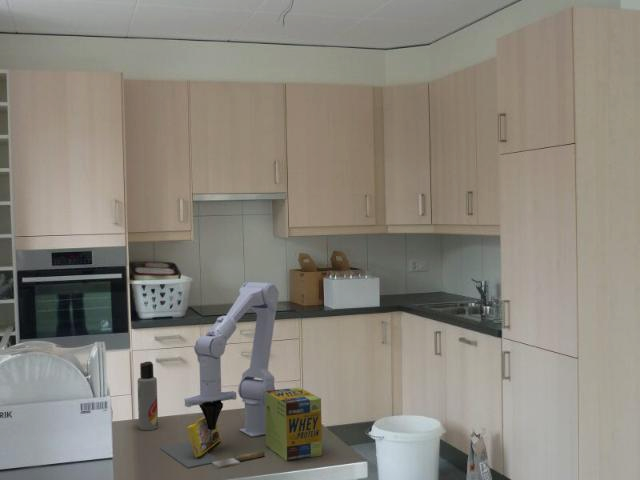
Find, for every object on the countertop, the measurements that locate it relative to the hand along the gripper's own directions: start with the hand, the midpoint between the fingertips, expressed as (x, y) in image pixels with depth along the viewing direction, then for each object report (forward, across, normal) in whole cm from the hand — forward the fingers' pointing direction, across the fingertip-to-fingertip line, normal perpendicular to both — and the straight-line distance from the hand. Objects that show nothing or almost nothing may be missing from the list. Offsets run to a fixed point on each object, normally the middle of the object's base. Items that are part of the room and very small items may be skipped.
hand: (211, 428), depth 216 cm
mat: (+6, +7, 0) cm, 9 cm away
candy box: (+6, +1, 0) cm, 6 cm away
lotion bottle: (+6, +7, -31) cm, 32 cm away
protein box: (+6, -18, +13) cm, 23 cm away
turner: (+6, -2, +12) cm, 14 cm away
